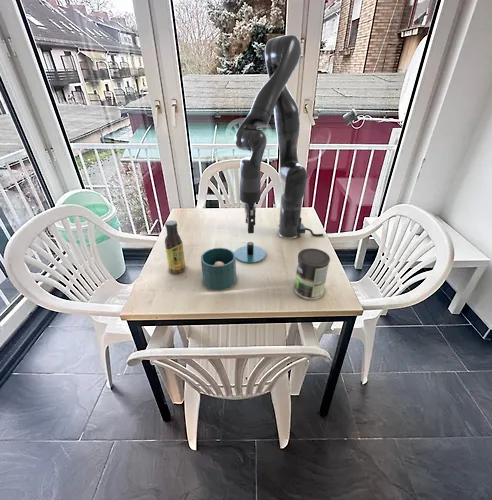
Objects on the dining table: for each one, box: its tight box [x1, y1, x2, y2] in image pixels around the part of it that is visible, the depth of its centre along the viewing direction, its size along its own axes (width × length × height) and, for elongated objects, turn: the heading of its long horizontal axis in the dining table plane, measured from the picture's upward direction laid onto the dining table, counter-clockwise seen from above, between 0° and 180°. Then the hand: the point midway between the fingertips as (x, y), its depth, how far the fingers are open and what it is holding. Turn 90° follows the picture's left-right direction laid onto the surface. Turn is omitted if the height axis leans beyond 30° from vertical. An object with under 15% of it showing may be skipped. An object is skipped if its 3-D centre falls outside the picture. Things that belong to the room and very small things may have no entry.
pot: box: [200, 247, 237, 291], centre depth 101 cm, size 12×12×10 cm
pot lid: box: [234, 241, 267, 264], centre depth 117 cm, size 13×13×6 cm
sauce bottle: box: [164, 220, 186, 274], centre depth 105 cm, size 7×6×20 cm
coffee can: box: [294, 247, 331, 300], centre depth 96 cm, size 10×10×14 cm
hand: (249, 227), depth 111 cm, fingers open, 8 cm apart
